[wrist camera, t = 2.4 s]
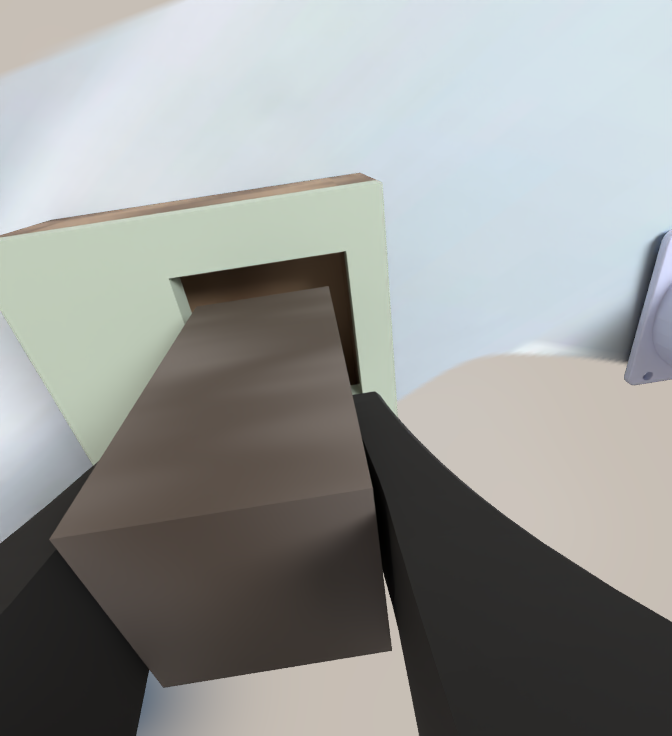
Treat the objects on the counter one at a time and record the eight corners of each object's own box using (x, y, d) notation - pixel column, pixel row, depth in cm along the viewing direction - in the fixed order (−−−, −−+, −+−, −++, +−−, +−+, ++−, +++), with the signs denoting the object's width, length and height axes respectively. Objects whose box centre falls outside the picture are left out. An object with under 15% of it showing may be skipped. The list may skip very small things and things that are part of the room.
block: (328, 286, 12) (372, 488, 5) (344, 396, 14) (392, 650, 7) (196, 306, 12) (49, 539, 5) (231, 413, 14) (163, 687, 7)
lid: (376, 179, 12) (402, 191, 9) (401, 523, 20) (419, 591, 17) (-14, 239, 12) (-119, 271, 9) (167, 561, 20) (144, 636, 17)
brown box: (359, 172, 15) (375, 179, 12) (387, 472, 23) (400, 522, 20) (51, 220, 15) (-12, 239, 12) (185, 505, 23) (168, 559, 20)
